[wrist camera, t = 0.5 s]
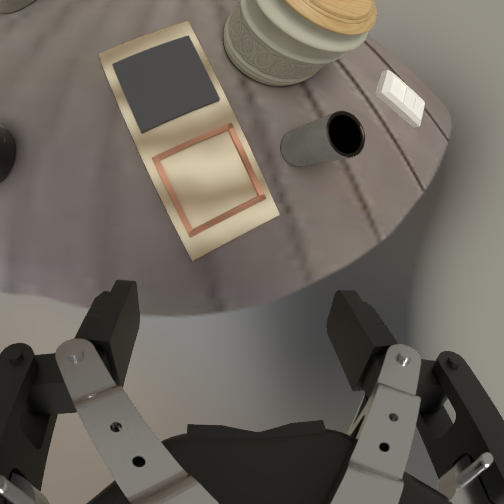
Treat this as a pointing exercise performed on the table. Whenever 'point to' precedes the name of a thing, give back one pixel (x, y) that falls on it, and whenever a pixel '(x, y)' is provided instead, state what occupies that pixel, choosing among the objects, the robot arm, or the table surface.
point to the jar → (294, 36)
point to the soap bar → (400, 98)
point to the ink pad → (165, 83)
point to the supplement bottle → (6, 152)
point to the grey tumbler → (324, 140)
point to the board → (197, 159)
